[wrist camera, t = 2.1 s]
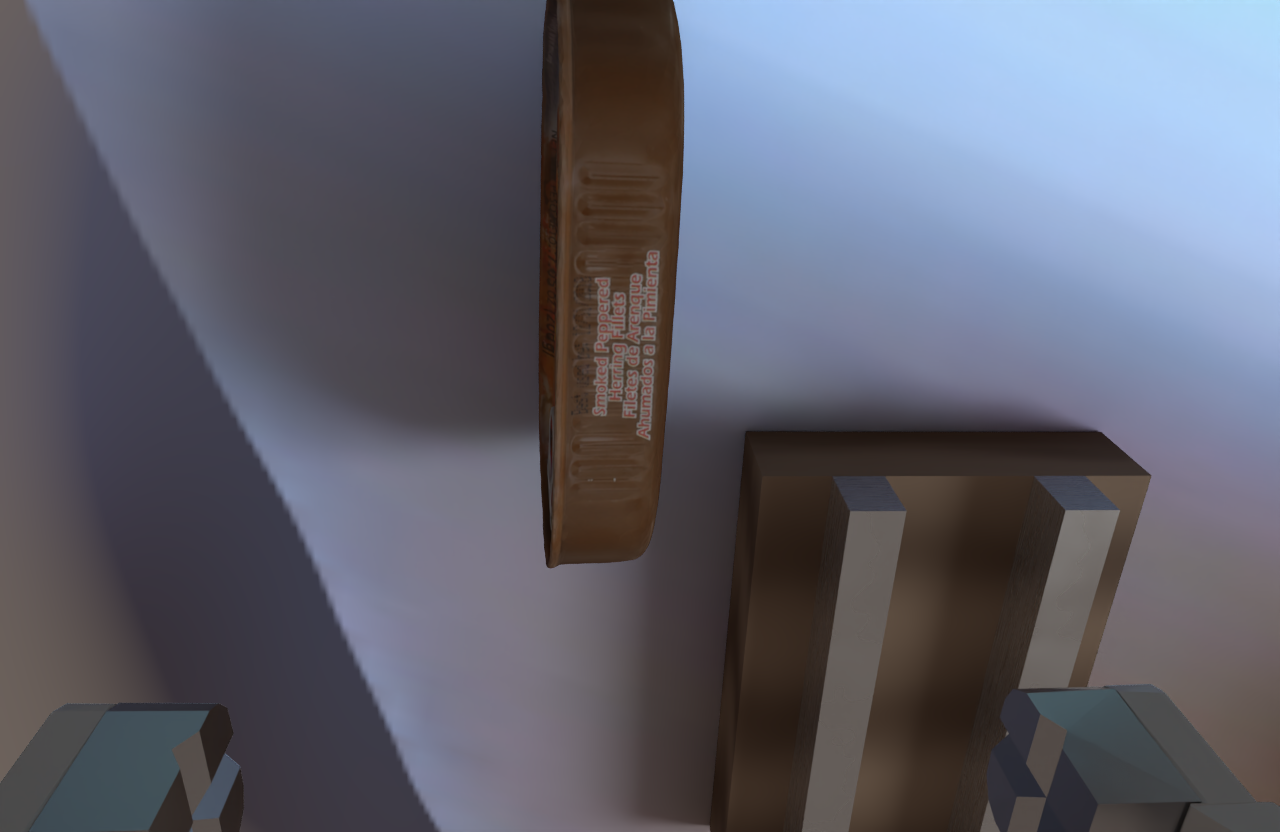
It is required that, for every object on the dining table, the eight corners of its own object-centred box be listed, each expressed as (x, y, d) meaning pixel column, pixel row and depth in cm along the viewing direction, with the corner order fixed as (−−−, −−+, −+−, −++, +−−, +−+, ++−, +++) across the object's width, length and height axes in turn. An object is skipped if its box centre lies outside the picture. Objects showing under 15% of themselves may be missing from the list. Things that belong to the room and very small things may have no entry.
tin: (543, -42, 24) (528, -50, 16) (664, -33, 24) (705, -39, 17) (537, 470, 30) (524, 635, 23) (633, 472, 31) (652, 636, 23)
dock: (745, 431, 30) (775, 511, 26) (1100, 432, 31) (1190, 509, 26) (709, 826, 38) (727, 941, 33) (995, 818, 39) (1050, 930, 34)
